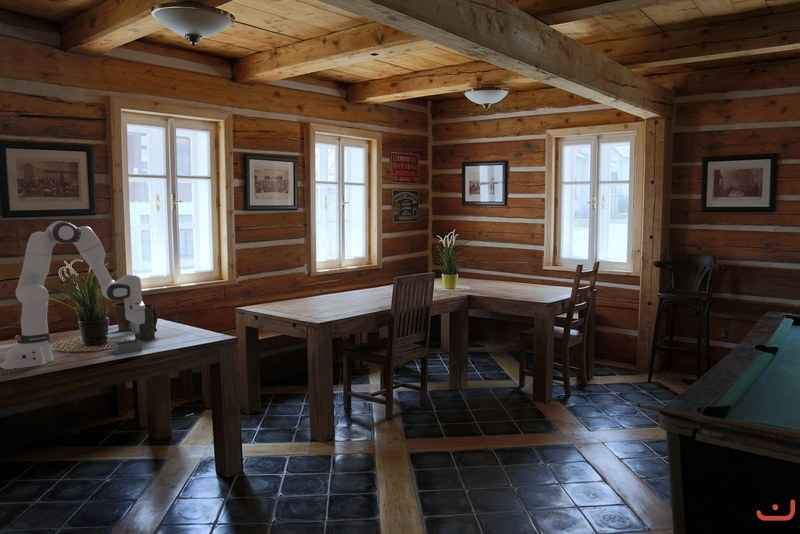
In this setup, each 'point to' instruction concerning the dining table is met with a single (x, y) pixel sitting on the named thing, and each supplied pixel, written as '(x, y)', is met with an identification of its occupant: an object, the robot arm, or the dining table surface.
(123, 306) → the plant pot
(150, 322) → the beer stein
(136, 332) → the lid
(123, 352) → the tub
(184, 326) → the dining table surface
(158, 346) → the dining table surface
